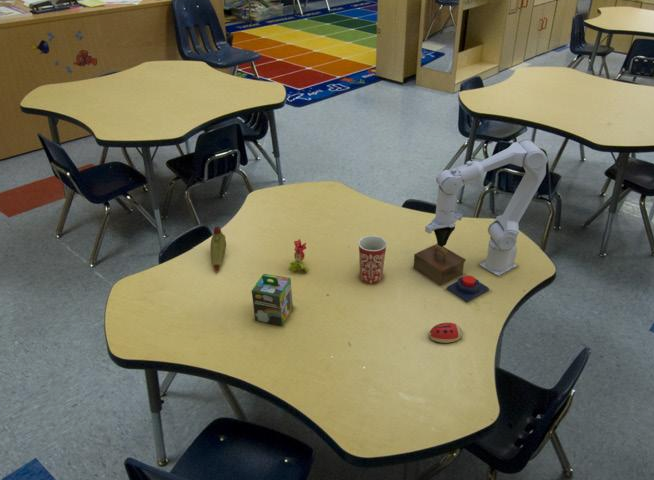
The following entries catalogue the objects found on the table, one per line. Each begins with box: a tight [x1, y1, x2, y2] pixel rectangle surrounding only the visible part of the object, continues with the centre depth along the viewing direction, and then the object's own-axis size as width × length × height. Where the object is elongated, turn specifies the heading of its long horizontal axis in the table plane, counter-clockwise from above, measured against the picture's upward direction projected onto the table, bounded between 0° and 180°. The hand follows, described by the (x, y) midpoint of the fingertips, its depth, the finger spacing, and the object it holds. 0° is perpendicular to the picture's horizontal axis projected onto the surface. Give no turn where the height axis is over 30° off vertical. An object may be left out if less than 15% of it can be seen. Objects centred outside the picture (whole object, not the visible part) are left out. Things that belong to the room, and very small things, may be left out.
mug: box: [357, 235, 388, 285], centre depth 190 cm, size 13×9×14 cm
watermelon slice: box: [428, 322, 463, 344], centre depth 166 cm, size 7×10×4 cm
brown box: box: [412, 255, 465, 286], centre depth 193 cm, size 10×12×5 cm
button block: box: [446, 276, 490, 303], centre depth 184 cm, size 10×8×3 cm
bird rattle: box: [288, 238, 308, 273], centre depth 195 cm, size 6×11×9 cm
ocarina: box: [209, 226, 227, 272], centre depth 201 cm, size 20×5×10 cm, turn 4°
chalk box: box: [251, 273, 294, 327], centre depth 173 cm, size 9×9×15 cm
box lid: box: [414, 243, 467, 272], centre depth 191 cm, size 11×12×4 cm
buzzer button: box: [462, 275, 477, 287], centre depth 183 cm, size 4×4×2 cm
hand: (441, 244), depth 189 cm, fingers closed
